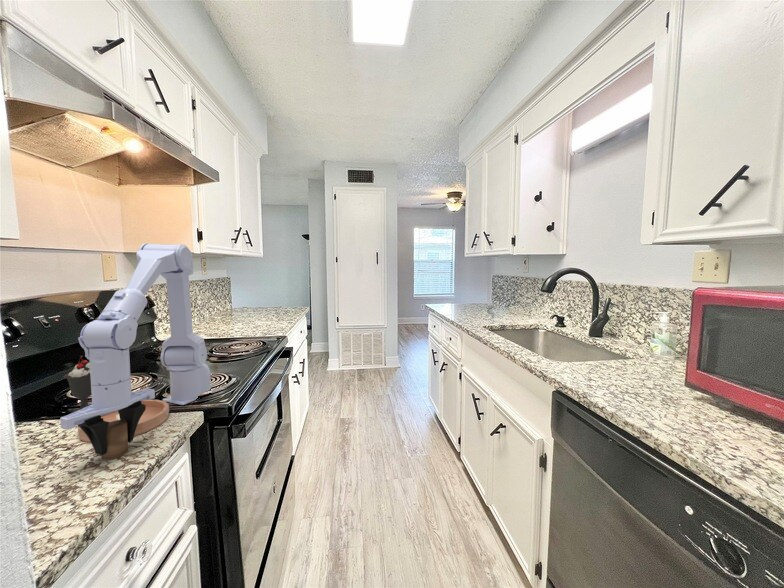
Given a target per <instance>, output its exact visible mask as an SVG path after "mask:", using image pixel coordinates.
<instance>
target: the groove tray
mask: <svg viewBox="0 0 784 588" xmlns="http://www.w3.org/2000/svg"><path fill="white" fill-rule="evenodd" d="M141 403H142V404H145V405H146V410H145V411H144V413H143V414H142V416H141V418H140V420H139V422H138V425H137V427H136V430H135V434H134V437H136V436H140V435H142V434H145V433H148V432H150V431H151V430H154V429H156V428H158V427H159V426H161V425H163V423H165V422H166V421H167V420H168V418H169V412H170V405H169V403H168V402H166V401H163V400H160V399H151V400H145V401H142V402H141ZM101 418H103V421H107V422H112V421H117V420H120V416H119V413H118V410H117V411H115V412H112V413H109V414H106V415H104V416H101ZM77 432H78V438H79V440H80V441H82V442H84V443H88V444H89V443H90V444H92V443H91V441H90V440H89V438H88V436H87V435H86V434H85V433H84V431H83V430H82V429H81V428H80V427H79V426H78V425H77Z"/></svg>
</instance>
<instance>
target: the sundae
mask: <svg viewBox="0 0 784 588" xmlns="http://www.w3.org/2000/svg"><path fill="white" fill-rule="evenodd" d="M63 378H65V379H66V380H67V382H68V385H69V389H70V392H71V393H70V394H71V395H72V397H74V398H76V399H79V400H80V407H79V408H78V409H76V410H74V411H72V412H71V413H70V414H72V413H74V412H76V411H79V410H81V409H83V408H85V407H87V406H89V404H88V398H89V397H91V396H92V392H91V376H90V361H88V359H87V360H86V359H83V355H81V356H80V357H79V360H78V363H76V364H75V366H74V367H73V369H72V370H71V371H70V372H67V373H66V374H65V375H64V376H63Z"/></svg>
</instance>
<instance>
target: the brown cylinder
mask: <svg viewBox="0 0 784 588" xmlns="http://www.w3.org/2000/svg"><path fill="white" fill-rule="evenodd" d="M106 443H107V452H106V454H104V455H100V456H101V457H100V458H101V460H104V461H110V460H114V459H117V458H120V457H122V456H124V455H127V453H128V452H129V442H128V431H127V421H126V420H117V421H112V422H109V424H108V428H107V434H106Z"/></svg>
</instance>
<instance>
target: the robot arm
mask: <svg viewBox="0 0 784 588" xmlns="http://www.w3.org/2000/svg"><path fill="white" fill-rule="evenodd" d="M135 255H136V262H137V266H136V268H135V269H134V271H133V273H132V274H131V276H130V279H129V281H128V283H127V285H126V287H125V288H123V289H119V290H116V291H115V292H114V294H113V296H112V297H111V298H110V300H109V301H108V302H107V304H106V306H105V307H104V309H103V310H102V312H101V313H100V314H99V316H98V317H97V318H96V319H95V320H94V319H93V320H92V321H90V322H89V323H87V324H85V325H84V326H83V327H82V329H81V330H80V334H79V335H80V336H79V337H78V338H77V340H78V342H79V345H80V347H81V348H82V349H83V350H84V354H85V355H84V356H85V358H86V359H87V360H89V363H90V376H91V392H92V395H91V404H90V405H89V404H88V405H89V406H87V407H85V408H83V409H81V410H79V411H76V412H74V413H72V412H71V413H72V414H71V413H69V414H67V415H64V416H61V417H60V419H59V420H60V428H61V429H63V430H67V431H69V430H71V429H74V428H75V427H76V426H77V427H78V426H79V427H80V428H81V429H82V430H83V431H84V433H85V434H86V435H87V436H88V438H89V440H90V441H91V443H90V444H91V445H92V447H93V450H94V453H95V454H97V455H100V456H101V455H104V454H106V452H107V443H106V434H107V428H108V424H109V422H107V421H103V418H101V416H104V415H106V414H109V413H112V412H115V411H117V410H118V413H119V416H120V420H126V421H127V431H128V444H129V443H132V442H133V441H134V437H135V436H134V434H135V430H136V427H137V425H138V422H139V420H140V418H141V416H142V414H143V413H144V411H145V410H146V405H145V404H142V403H141V402H142V401H145V400H155V398H156V395H155V394H156V393H155V392H156V391H155V389H154V388H146V389H142V390H139V391H134V392H132V383H131V382H132V381H131V379H132V378H131V363H130V361H131V360H130V358H131V357H130V347H132V346H133V344H134V343H135V341H136V338H137V329H138V325H139V323H138V320H139V319H140V317H141V316H142V313H143V312H144V309H145V308H146V306H147V304H148V299H147V297H146V294H147V293H148V291H150V289H151V287H152V286H153V285H154V283H155V282H156V281H157V279H158V278H159V276H161V277H162V278H164V279H165V281H166V290H167V303H168V304H167V305H168V315H169V316H168V317H169V328H170V330H169V331H170V336H169V337H168V338H166V339H165V340H164V341H163V342H162V343H161V353H160V363H161V364H162V366H163V367H165V368H166V371H169V390H170V391H169V392H170V393H169V394H170V396H171V398H169V397H170V396H168V397H166V398H162V401H166V402H167V403H171V404H175V405H179V406H184V405H188V404H189V403H192V402H195V401H197V400H198V399H197V398H198V396H199V395H200V394H202V393H204V392H206V391H208V390H210V389H211V388H212V387H211V383H212V382H211V370H210V368H209V366H208V365H207V364H206V362H207V359H208V349H207V347H206V342H205V338H204V337H202V336H200V335H199V334H196V333H195V332H194V331H193V318H192V317H193V316H192V301H191V290H190V288H191V287H190V276H191V275H193V274H194V263H193V253H192V251H191V250H190V248H189V247H188V246H187V245H186V244H183V243H181V244H159V243H155V244H154V243H148V242H147V243H146V242H144V243H142V244H141V245H140V246H139V248H138V250H137V251H136V254H135ZM211 390H212V389H211ZM196 399H197V400H196Z"/></svg>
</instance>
